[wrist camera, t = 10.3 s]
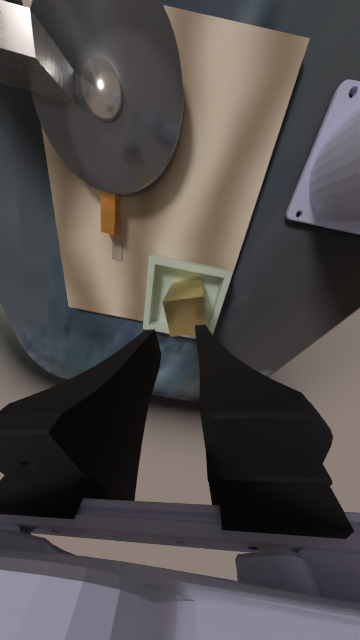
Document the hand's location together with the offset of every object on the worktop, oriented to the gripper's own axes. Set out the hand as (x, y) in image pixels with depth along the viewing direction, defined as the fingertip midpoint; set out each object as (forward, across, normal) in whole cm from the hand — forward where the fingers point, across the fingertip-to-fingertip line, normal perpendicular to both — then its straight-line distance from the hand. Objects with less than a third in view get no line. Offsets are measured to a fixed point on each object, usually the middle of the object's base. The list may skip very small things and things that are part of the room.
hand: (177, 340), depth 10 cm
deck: (+9, +2, -8) cm, 12 cm away
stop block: (+8, -1, -1) cm, 8 cm away
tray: (+8, 0, 0) cm, 8 cm away
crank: (+8, +4, -14) cm, 17 cm away
